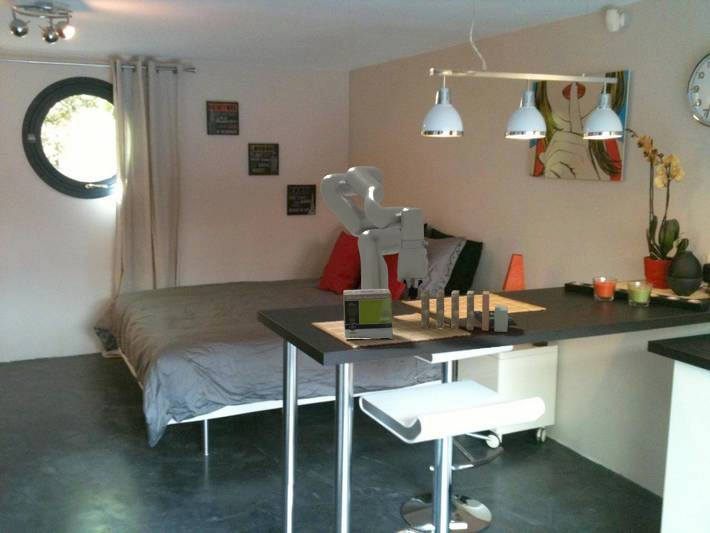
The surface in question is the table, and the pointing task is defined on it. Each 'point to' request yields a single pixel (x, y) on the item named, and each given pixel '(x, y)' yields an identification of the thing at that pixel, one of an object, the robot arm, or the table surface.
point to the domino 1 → (425, 308)
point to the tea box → (368, 313)
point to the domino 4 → (470, 310)
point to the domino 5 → (485, 310)
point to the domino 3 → (455, 309)
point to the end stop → (501, 318)
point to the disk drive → (490, 317)
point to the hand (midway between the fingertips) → (413, 299)
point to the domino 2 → (440, 309)
